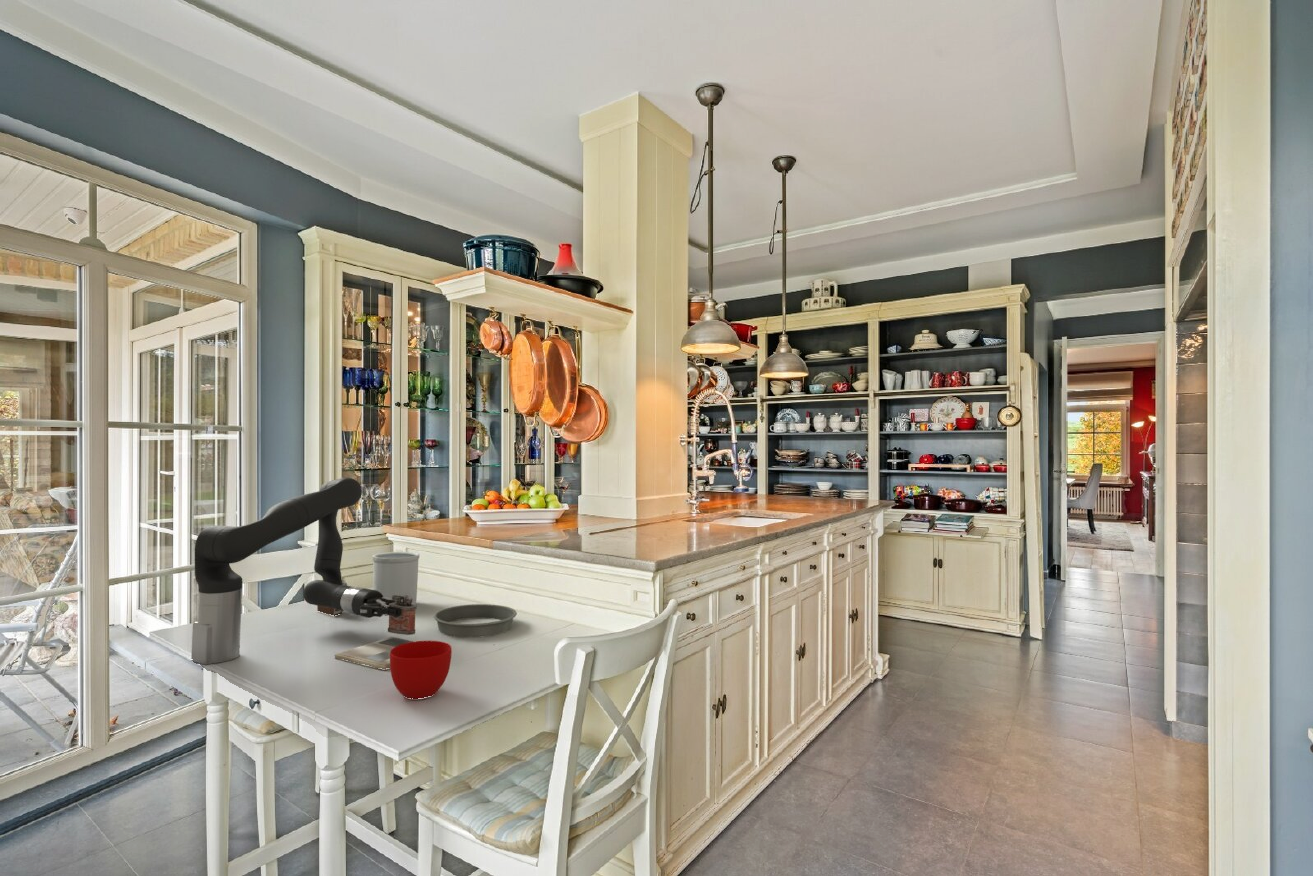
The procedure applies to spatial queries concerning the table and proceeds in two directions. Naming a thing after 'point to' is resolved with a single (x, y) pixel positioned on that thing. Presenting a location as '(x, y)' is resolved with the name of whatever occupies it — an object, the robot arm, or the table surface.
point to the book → (373, 653)
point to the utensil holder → (396, 574)
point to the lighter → (403, 616)
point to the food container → (328, 609)
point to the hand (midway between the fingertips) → (405, 610)
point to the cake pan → (474, 611)
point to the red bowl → (420, 667)
